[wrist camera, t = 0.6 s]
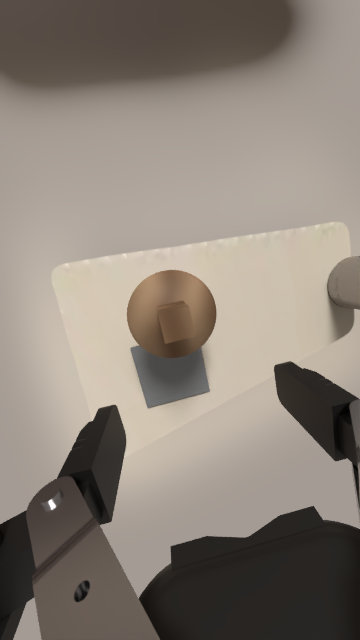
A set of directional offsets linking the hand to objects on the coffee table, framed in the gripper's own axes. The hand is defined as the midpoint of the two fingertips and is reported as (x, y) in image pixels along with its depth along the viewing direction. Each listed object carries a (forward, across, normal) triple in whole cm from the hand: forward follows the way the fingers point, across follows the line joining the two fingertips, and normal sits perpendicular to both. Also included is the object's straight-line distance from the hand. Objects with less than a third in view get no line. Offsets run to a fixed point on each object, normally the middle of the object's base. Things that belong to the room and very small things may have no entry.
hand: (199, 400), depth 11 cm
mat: (+27, +2, +11) cm, 30 cm away
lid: (+17, 0, -1) cm, 17 cm away
